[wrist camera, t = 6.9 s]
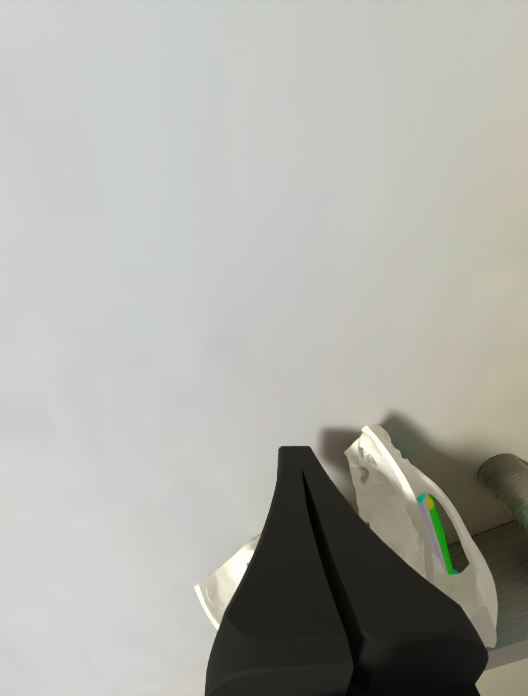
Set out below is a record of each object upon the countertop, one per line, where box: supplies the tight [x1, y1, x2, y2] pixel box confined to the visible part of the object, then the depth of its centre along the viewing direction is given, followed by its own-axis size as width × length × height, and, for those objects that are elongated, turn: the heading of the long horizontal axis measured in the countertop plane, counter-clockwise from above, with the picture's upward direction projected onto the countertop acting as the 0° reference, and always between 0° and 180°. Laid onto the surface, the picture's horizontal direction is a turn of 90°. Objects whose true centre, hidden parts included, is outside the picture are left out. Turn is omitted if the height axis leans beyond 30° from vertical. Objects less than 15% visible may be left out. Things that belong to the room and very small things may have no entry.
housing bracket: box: [447, 454, 528, 671], centre depth 17 cm, size 22×8×5 cm, turn 121°
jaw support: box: [194, 424, 498, 648], centre depth 15 cm, size 12×9×10 cm
